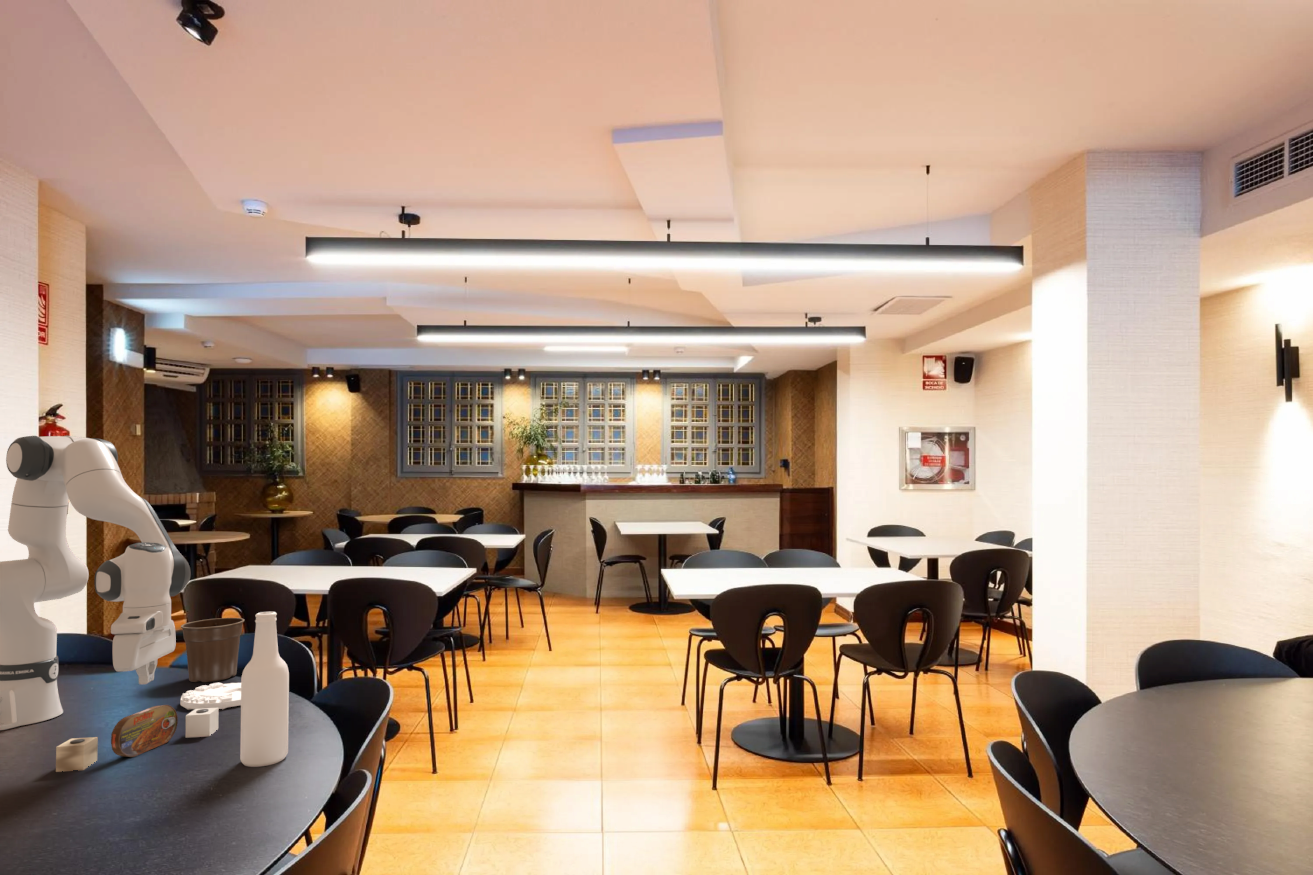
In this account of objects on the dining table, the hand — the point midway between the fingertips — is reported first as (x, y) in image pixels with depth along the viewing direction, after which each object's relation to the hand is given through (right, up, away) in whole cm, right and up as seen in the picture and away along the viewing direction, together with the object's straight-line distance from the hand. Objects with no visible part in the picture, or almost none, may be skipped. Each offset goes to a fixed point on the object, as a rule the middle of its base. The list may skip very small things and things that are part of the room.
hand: (146, 682), depth 167 cm
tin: (0, -15, -1) cm, 15 cm away
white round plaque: (-3, -17, +36) cm, 40 cm away
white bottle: (+30, -14, -8) cm, 33 cm away
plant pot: (-20, -18, +59) cm, 65 cm away
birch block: (-8, -14, -10) cm, 19 cm away
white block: (+6, -15, +10) cm, 19 cm away
